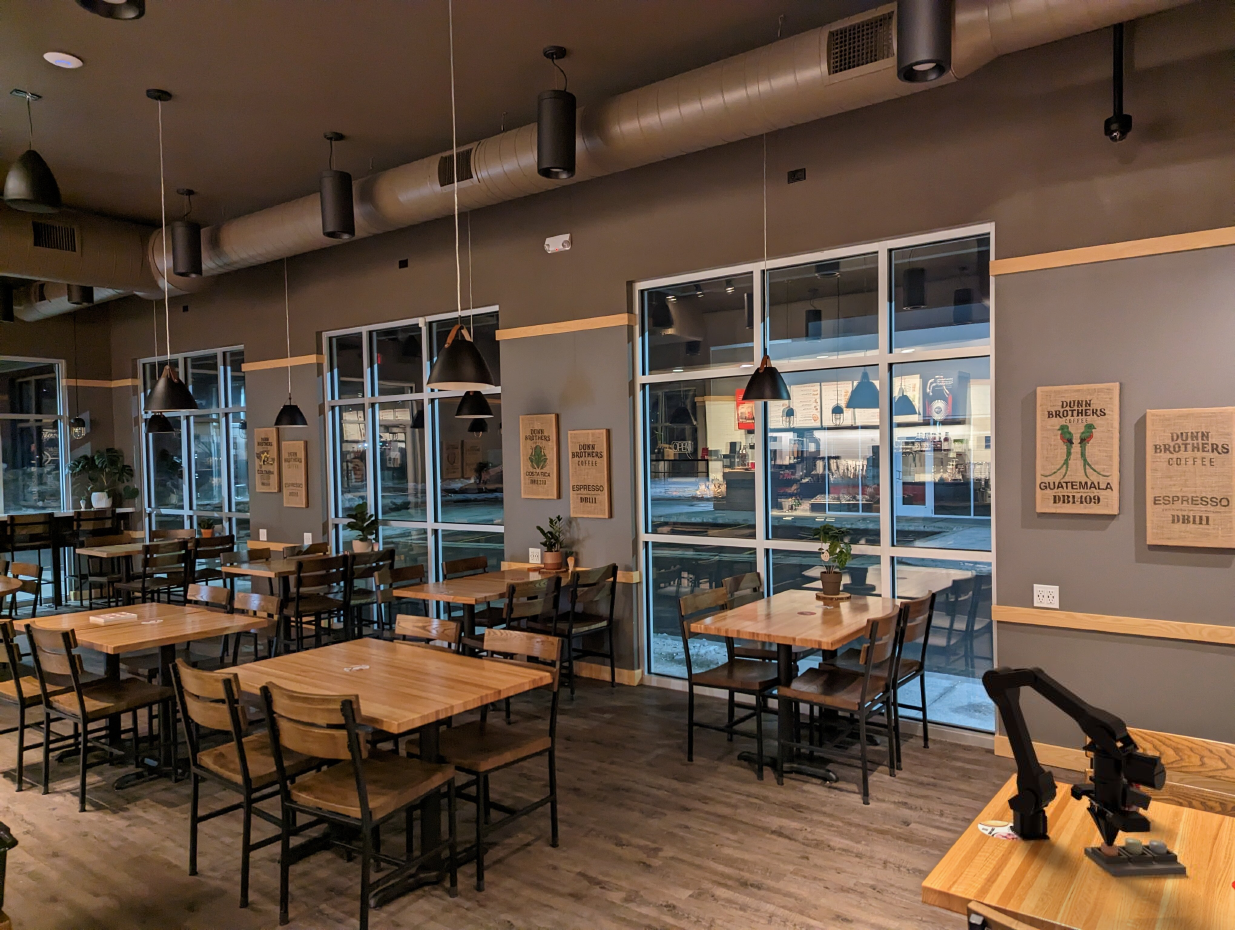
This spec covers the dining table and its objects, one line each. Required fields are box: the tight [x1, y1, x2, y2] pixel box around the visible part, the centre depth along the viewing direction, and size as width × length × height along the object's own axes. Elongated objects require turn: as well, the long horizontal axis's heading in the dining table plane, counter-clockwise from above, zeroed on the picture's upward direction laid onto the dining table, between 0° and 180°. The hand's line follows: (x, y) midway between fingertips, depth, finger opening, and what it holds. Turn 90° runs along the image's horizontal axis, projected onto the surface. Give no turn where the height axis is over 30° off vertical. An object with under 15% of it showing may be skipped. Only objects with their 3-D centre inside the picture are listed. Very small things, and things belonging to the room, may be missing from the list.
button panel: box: [1083, 844, 1187, 878], centre depth 176 cm, size 16×10×3 cm, turn 92°
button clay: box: [1100, 841, 1119, 857], centre depth 175 cm, size 3×3×2 cm
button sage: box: [1124, 837, 1143, 855], centre depth 176 cm, size 3×3×2 cm
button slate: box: [1148, 839, 1168, 855], centre depth 176 cm, size 3×3×2 cm
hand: (1109, 845), depth 175 cm, fingers closed, pressing on button clay
